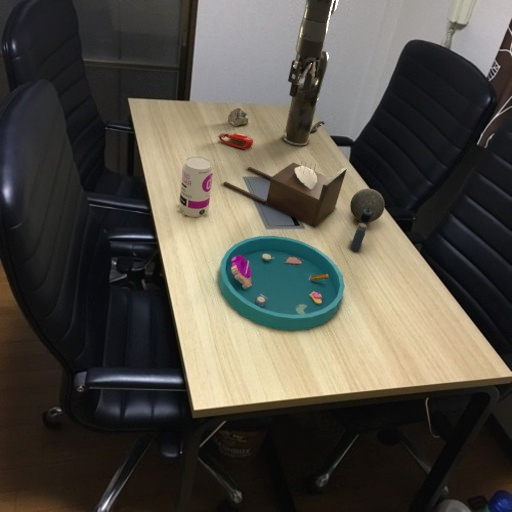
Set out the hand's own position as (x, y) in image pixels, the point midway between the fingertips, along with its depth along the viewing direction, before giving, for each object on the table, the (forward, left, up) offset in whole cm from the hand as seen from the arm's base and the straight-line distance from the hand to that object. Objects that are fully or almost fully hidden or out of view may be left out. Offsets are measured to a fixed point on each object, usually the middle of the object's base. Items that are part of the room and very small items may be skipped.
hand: (299, 93), depth 151 cm
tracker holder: (-8, -24, -28) cm, 38 cm away
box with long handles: (+12, +6, -28) cm, 31 cm away
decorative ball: (+4, +31, -28) cm, 42 cm away
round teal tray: (+48, +27, -28) cm, 62 cm away
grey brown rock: (-22, -32, -28) cm, 48 cm away
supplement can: (+37, -8, -28) cm, 47 cm away
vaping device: (+19, +35, -28) cm, 49 cm away
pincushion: (+12, +13, -19) cm, 26 cm away
